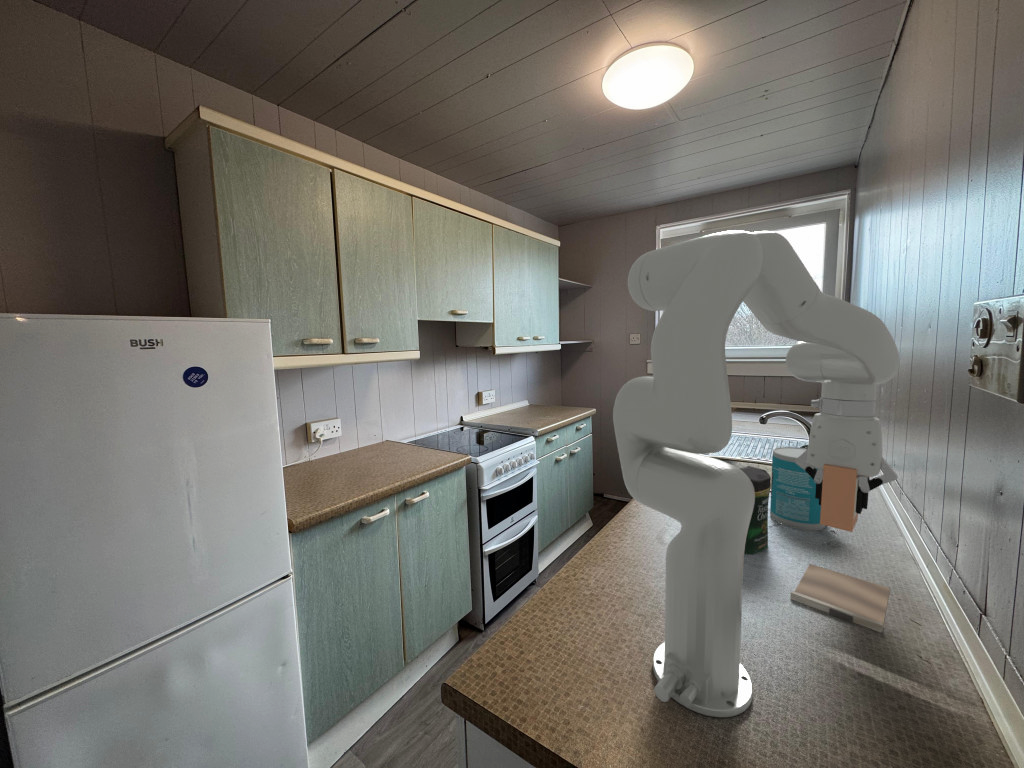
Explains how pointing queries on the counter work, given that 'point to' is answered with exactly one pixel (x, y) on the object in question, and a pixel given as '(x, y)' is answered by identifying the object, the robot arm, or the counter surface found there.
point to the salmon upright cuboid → (839, 497)
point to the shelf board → (843, 596)
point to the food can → (793, 492)
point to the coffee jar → (758, 511)
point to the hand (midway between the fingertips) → (840, 506)
